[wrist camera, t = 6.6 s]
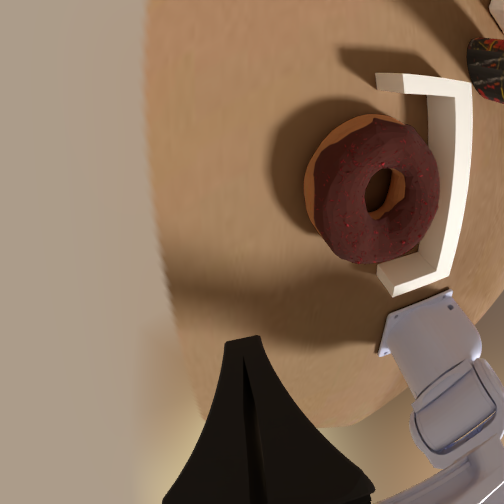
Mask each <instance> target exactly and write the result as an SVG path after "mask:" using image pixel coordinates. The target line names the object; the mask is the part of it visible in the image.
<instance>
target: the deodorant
mask: <svg viewBox="0 0 504 504" xmlns="http://www.w3.org/2000/svg"><path fill="white" fill-rule="evenodd" d="M467 65H468V70H469V74H470V77H471V80H472V82H473V84H474V86H475V88H476V90H477V91H478V93H479V94H480V95H481V96H482V97H484V98H486V99H488V100H492V101H495V102H499V103H502V104H504V40H500V39H489V38H474V39H472V40H471V41H470V43H469V46H468V49H467Z"/></svg>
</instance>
